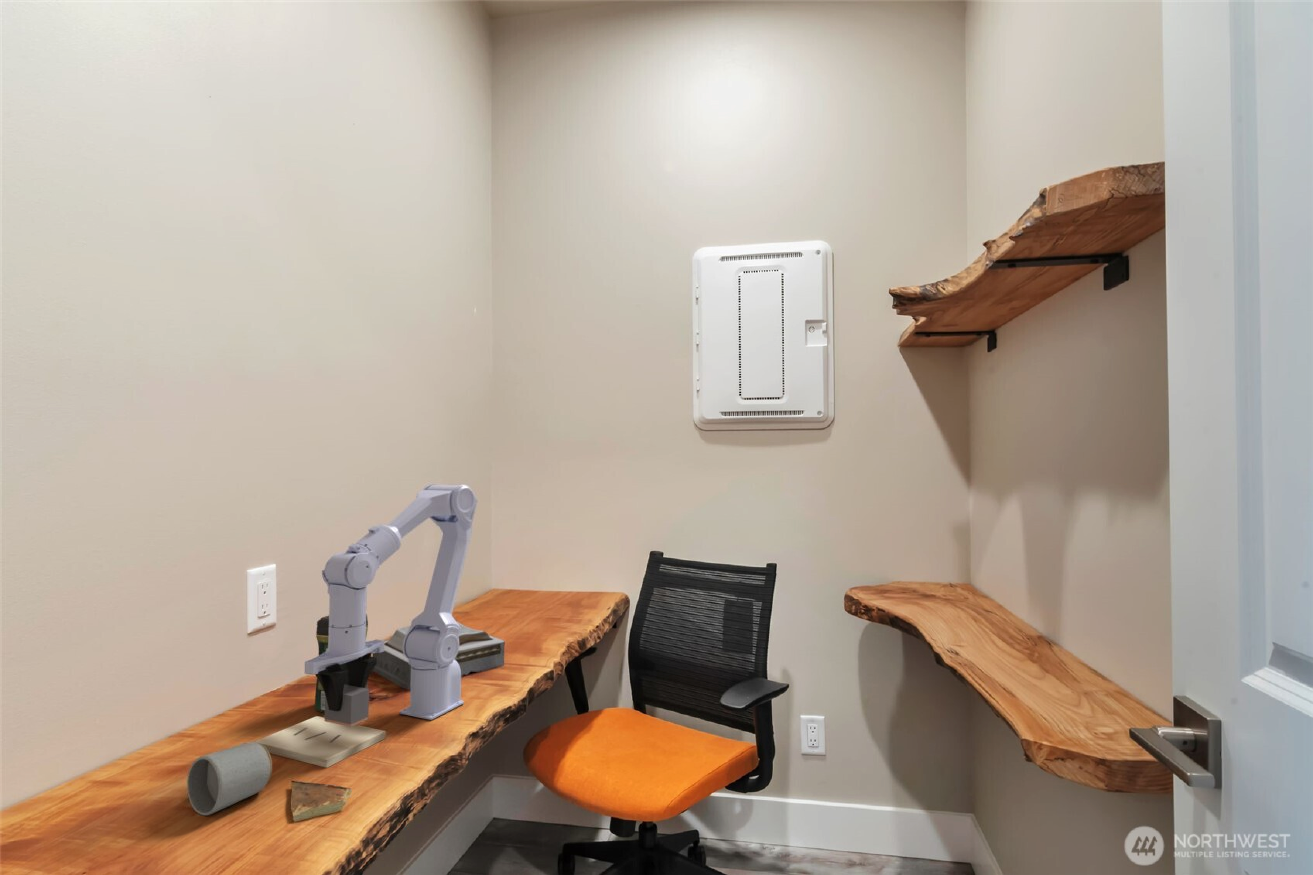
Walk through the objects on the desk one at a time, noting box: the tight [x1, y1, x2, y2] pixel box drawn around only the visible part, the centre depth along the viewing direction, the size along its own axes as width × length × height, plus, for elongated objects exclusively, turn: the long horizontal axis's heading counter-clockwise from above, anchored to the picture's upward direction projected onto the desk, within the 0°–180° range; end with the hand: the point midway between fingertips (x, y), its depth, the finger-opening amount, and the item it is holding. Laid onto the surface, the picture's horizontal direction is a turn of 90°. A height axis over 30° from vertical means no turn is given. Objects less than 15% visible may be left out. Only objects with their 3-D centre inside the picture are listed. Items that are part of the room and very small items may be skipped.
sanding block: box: [324, 684, 370, 727], centre depth 108 cm, size 4×6×5 cm, turn 67°
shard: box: [290, 780, 352, 823], centre depth 92 cm, size 11×8×2 cm
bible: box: [372, 621, 506, 691], centre depth 152 cm, size 23×27×10 cm
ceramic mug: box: [186, 741, 273, 817], centre depth 92 cm, size 11×8×8 cm
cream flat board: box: [253, 715, 387, 768], centre depth 110 cm, size 12×17×1 cm
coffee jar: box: [314, 613, 369, 714], centre depth 128 cm, size 10×8×19 cm
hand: (345, 705), depth 108 cm, fingers closed on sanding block, 4 cm apart
